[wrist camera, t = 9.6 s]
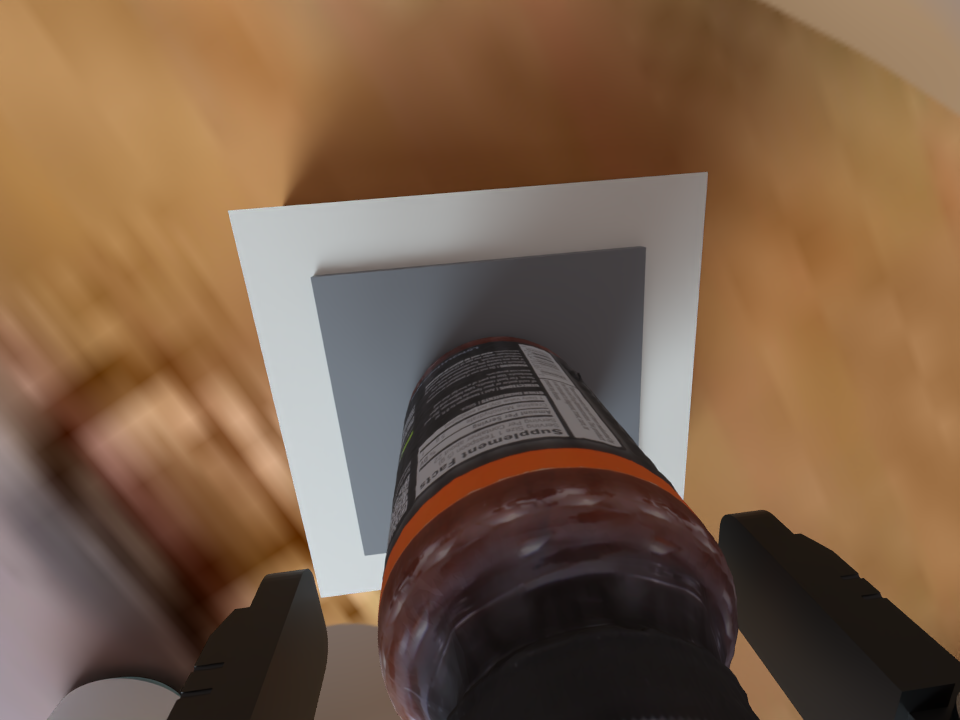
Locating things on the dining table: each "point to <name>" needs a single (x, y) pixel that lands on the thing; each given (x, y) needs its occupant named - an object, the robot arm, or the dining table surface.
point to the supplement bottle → (545, 558)
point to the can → (117, 700)
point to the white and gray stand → (463, 325)
